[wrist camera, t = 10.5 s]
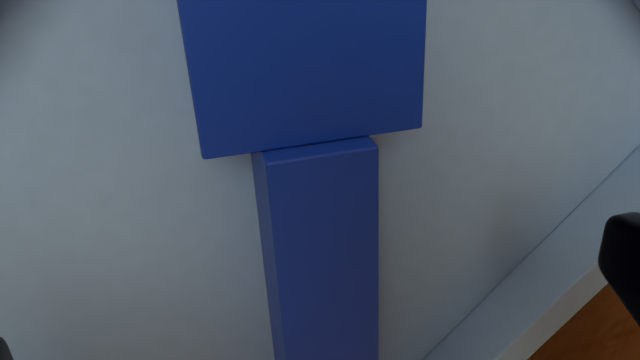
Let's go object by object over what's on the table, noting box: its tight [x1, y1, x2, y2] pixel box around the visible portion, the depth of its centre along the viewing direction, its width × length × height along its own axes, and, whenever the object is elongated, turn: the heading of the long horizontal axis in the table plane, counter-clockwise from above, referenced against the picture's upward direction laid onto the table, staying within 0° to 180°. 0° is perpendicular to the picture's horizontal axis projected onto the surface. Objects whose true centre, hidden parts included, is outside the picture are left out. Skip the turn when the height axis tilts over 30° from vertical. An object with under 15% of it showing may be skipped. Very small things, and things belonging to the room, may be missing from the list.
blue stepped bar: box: [176, 0, 427, 360], centre depth 10 cm, size 11×4×2 cm, turn 3°
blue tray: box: [0, 0, 640, 360], centre depth 11 cm, size 16×14×2 cm
